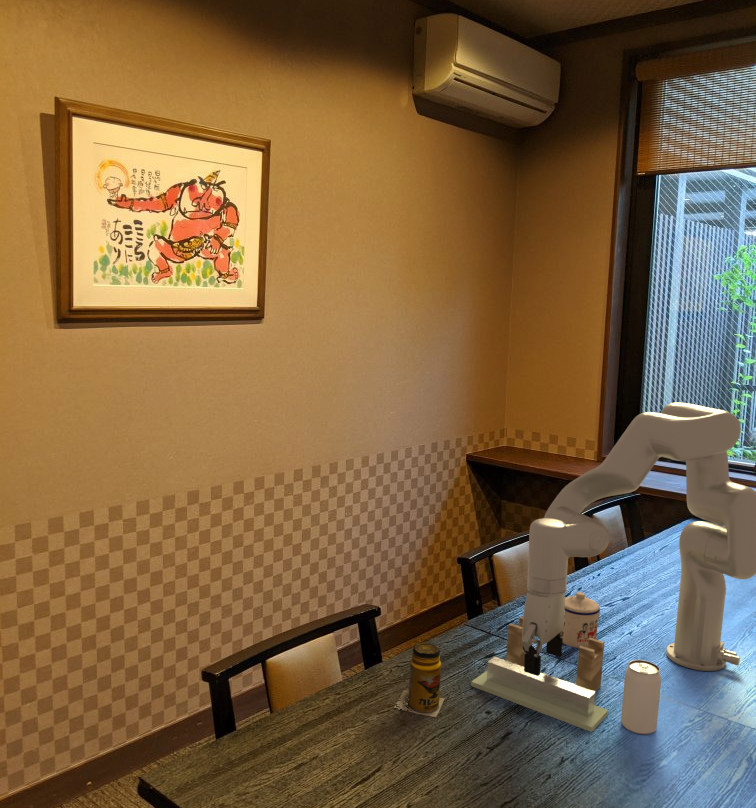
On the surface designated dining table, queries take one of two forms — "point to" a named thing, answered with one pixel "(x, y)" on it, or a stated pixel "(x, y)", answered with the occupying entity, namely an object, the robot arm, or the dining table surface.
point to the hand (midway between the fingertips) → (543, 663)
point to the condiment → (424, 681)
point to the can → (641, 697)
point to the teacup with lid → (580, 620)
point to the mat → (541, 704)
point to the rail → (541, 687)
